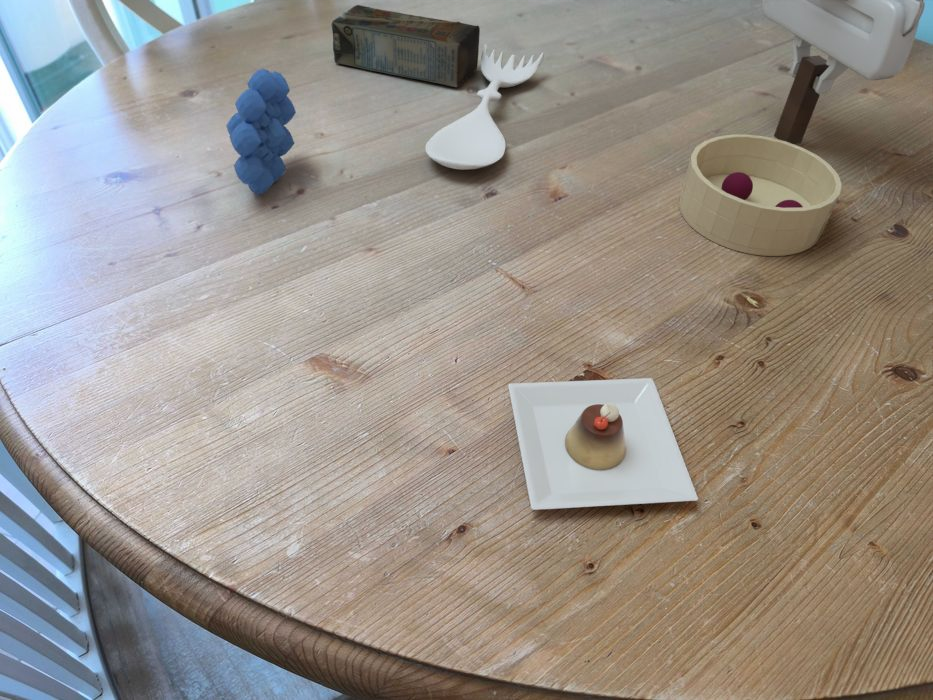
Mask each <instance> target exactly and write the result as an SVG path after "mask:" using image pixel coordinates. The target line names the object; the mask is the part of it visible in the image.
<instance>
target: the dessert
mask: <svg viewBox="0 0 933 700" xmlns="http://www.w3.org/2000/svg"><path fill="white" fill-rule="evenodd" d="M507 387H508V393H509V397H510V402H511V408H512V414H513V418H514V419H513V420H514V423H515V429H516V434H517V439H518V440H517V441H518V446H519V450H520V451H519V452H520V455H521V456H520V457H521V461H522V466H523V472H524V476H525V482H526V488H527V493H528V498H529V503H530V508H531V510H532V511H533V510H534V511H536V510H538V511H539V510H556V509H572V508H588V507H606V506H624V505H640V504H642V505H644V504H659V503H660V504H661V503H676V502H677V503H678V502H695V501H698V500H699V497H698V494H697V492H696V489H695V486H694V484H693V481H692V479H691V475H690V473H689V471H688V468H687V465H686V463H685V460H684V457H683V455H682V453H681V450H680V447H679V445H678V441H677V439H676V437H675V434H674V431H673V428H672V426H671V423H670V420H669V418H668V415H667V413H666V410H665V408H664V405H663V402H662V400H661V397H660V394H659V392H658V389H657V386H656V384H655V382H654V379H653V378H652V377H643V378H642V377H641V378H620V379H619V378H618V379H591V380H568V381H542V382H541V381H540V382H518V383H517V382H516V383H515V382H514V383H508V384H507Z"/></svg>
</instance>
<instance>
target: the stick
mask: <svg viewBox="0 0 933 700" xmlns="http://www.w3.org/2000/svg"><path fill="white" fill-rule="evenodd" d="M826 62H827V59H825V57H822V56H821V55H810V56H809V57H802V60H801V62H800V65H799V68H798V71H797V73H796V76H795V78H794V79H793V82H792V85H791V88H790V90H789V93H788V95H787V98H786V101H785V103H784V107H783V109H782V112H781V115H780V118H779V120H778V123H777V126H776V129H775V131H774V134H773V138H774V139H778V140H782V141H786V142H789V143H791V144H794V145H797V144H801V143H802V142H803V139H804V136H805V134H806V131H807V129H808V126H809V124H810V121H811V119H812V117H813V114H814V112H815V109H816V105H817V103H818V100H819V98H820V96H821V94H818V93H816V92H815V91H813V90H812V89H811V88H810V86H811V84H812V81H813V78H814V75H818V74H823V73H824V71H825V70H826V69H827V68H828V67H829V66H828V65H826Z"/></svg>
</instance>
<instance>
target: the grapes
mask: <svg viewBox="0 0 933 700" xmlns="http://www.w3.org/2000/svg"><path fill="white" fill-rule="evenodd" d="M247 81H248V82H247V83H246V84H247V87H248V88H247V89H245V90H244V91H242V93H240V95H239V96H238V98H237V99H236V101H235V103H234V105H235V108H236V111H237V112H235V113H234V114H233V115H232V116H231V117H230V118H229V121H228V122H227V123H226V129H227V132H228V135H229V141H230V143H231V145H232V147H233V149H234V151H235V152H236V153H237V154H238V155H239V157H238V158H237V159H236V161H235V162H234V164H233V168H234V172H235V174H236V176H237V178H238V179H239V180H240V181H241V183H242V184H244V185H247V186H248V188H249V189H250V190H251V192H252V193H253V194H256V195H262V194H265V193H266V192H267V191H268V190H269V188H271V187H272V186H273V184H274V183H275V182H277V181H279V179H281V177H282V176H283V175H284V174H285V173H286V171H287V168H286V166H285V163H284V160H283V158H282V156H285V155H286V154H287V153H289V151H290V150H291V149H292V148H293V146H294V145H295V141H294V137H293V135H292V133H291V132H290V130H289V129H288V128H287V127H286V125H288V123H289V122H290V121H292V119H293V117H294V116H295V115H296V113H297V111H296V107H295V106H294V104H293V101H292V100H291V98H289V96H288V94H289V93H290V91H291V89H290V86H289V84H288V82H287V80H286V78H285V77H284V75H282V73H280V72H278V71H276V70H274V71H272V72H270V71H269V70H268V69H266V68H263V67H262V68H259V69H257V70H256V71H255V72H254V73H253V74H252V75H251V76H250V78H249V80H247Z"/></svg>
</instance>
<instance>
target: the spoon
mask: <svg viewBox="0 0 933 700" xmlns="http://www.w3.org/2000/svg"><path fill="white" fill-rule="evenodd" d="M495 58H496V48H494V49H492V51H491V53H490V55H488V44H487V43H485V44H484V46H483V48H482V50H481V56H480V71H481V73H482V75H483V76H484V78H485V79H486V80H487V81H488V82H489V84H488V86H487V87H486V88H484V89H480V90H478V91H477V92H476V95H477V98H479V99H481V101H480V103H479V104H478V106H476V108H475V109H473V110H472V111H470V112H469V113H468V114H466V115H463V116H462V117H461V118H458V119H457V120H454V121H453V122H452V123H449V124H447V125H445V126H444V127H442V128H440V129H439V130H438V131H437V132H435V133H434V134H433V135H432V136H431V137H430V138H429V139H428V140H427V142H426V144H425V147H424V148H425V153H426V154H427V155H428V157H429V158H430V159H431V160H433V161H434V162H435V163H437V164H439V165H441V166H443V167H445V168H450V169H454V170H476V169H481V168H485V167H488V166H491V165H493V164H494V163H496V162H498V161H499V160H501V159H502V158H503V156H504V154H505V151H506V140H505V137H504V135H503V133H502V131H501V130H500V129H499V127H498V126H497V124H496V122H495V121H494V119H493V117H492V115H491V114H490V112H489V106H490V103H491V102H495V101H499V100H501V98H502V94H501V93H500V92H499V88H511V87H515V86H517V85H520V84H522V83H525V82H526V81H528V80H529V79H530V78H531V77H532V76H533V75H534V74H535V73H536V71H537V70H538V68H539V67H540V66H541V65H542V63H543V61H544V58H545V53H544V52H541V54H540V55H539V56H538V58H537V59H536V60H535V61H534V59H535V53H534V54H532V55H531V56H530V58H529V60H528V61H527V63H526V64H525V62H526V54H524V55H523V56H522V58H521V60H520V62H519V63H518V65H517V66H516V68H515V63H516V56H515V54H514V53H513V54H511V55H510V56H509V58H508V60H507V61H506V63H505V65H504V66H503V65H502V64H503V58H504V50H502V51H501V53H500V54H499V56H498V58H497V60H496V62H495ZM502 66H503V67H502Z"/></svg>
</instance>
